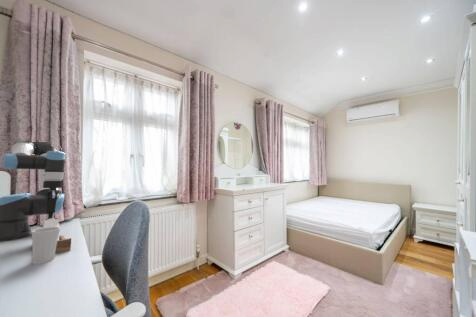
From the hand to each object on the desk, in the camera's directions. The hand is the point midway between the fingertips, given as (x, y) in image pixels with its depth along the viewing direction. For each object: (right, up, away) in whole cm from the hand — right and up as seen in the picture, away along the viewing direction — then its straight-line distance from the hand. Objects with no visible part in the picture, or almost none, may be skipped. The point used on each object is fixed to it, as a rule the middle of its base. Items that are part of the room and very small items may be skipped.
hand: (49, 226), depth 100 cm
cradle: (+9, -7, -9) cm, 15 cm away
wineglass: (+4, -7, -5) cm, 10 cm away
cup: (+21, -6, -24) cm, 32 cm away
